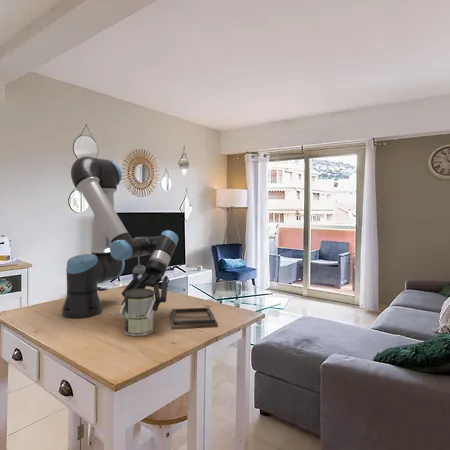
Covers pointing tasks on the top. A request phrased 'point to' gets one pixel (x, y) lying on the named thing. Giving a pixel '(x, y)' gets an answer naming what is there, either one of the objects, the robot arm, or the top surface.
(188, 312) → the walnut board
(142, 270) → the beverage cup
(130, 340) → the top surface
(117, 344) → the top surface
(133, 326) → the coffee can
